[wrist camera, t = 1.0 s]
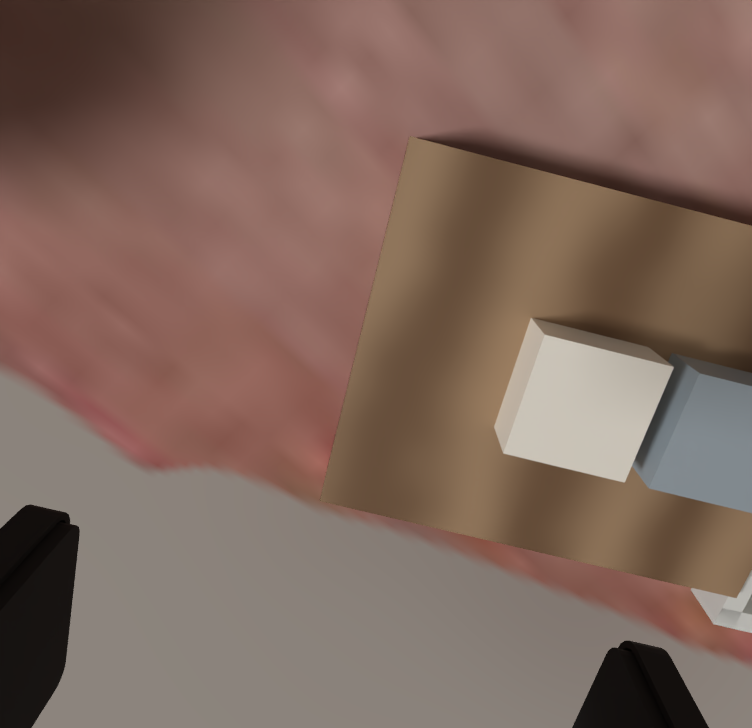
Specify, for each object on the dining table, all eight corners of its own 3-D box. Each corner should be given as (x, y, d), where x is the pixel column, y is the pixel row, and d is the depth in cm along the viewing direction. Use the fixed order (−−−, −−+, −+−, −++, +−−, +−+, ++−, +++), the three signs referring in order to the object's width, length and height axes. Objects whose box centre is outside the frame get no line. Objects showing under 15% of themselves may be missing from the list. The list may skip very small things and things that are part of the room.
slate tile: (786, 381, 26) (826, 404, 23) (735, 485, 27) (767, 516, 25) (671, 352, 26) (699, 373, 23) (626, 459, 27) (648, 488, 25)
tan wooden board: (857, 255, 27) (911, 267, 24) (706, 558, 32) (736, 598, 29) (409, 137, 26) (410, 136, 23) (327, 469, 31) (319, 500, 28)
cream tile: (648, 347, 26) (674, 366, 23) (604, 453, 27) (624, 482, 25) (530, 317, 25) (544, 334, 23) (493, 427, 27) (503, 453, 25)
